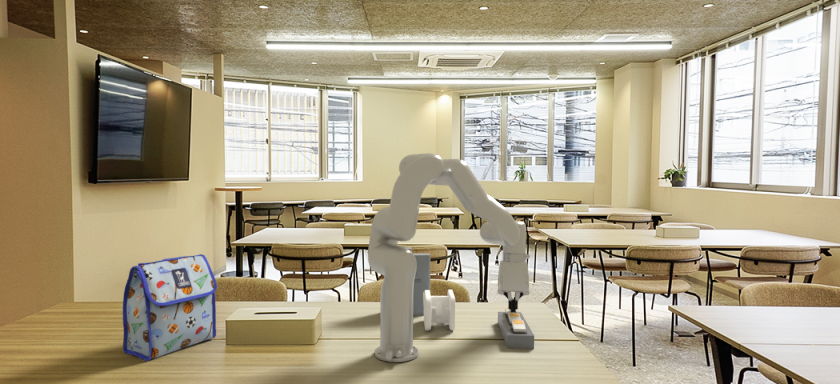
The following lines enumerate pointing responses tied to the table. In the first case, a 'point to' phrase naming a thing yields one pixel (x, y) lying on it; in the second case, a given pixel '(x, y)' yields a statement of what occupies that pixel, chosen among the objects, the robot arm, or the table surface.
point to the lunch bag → (168, 306)
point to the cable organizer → (439, 309)
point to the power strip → (515, 333)
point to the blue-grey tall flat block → (420, 281)
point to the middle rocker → (514, 316)
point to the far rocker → (509, 311)
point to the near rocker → (518, 326)
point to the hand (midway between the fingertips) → (512, 311)
